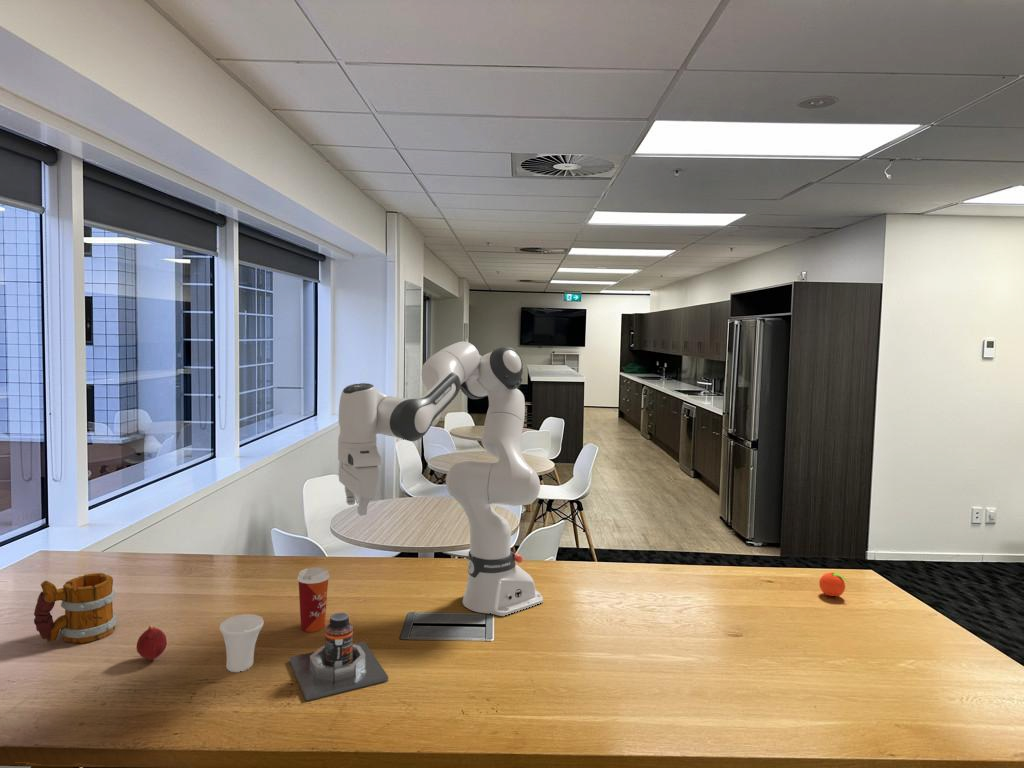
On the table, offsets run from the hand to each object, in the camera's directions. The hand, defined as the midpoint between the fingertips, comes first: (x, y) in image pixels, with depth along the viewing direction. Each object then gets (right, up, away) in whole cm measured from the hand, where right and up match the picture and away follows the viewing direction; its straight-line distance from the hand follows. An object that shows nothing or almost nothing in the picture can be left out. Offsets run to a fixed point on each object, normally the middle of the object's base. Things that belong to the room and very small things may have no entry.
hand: (356, 509), depth 156 cm
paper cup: (-12, -31, +6) cm, 33 cm away
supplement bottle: (-1, -32, -14) cm, 35 cm away
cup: (-22, -32, -13) cm, 41 cm away
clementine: (+133, -33, +37) cm, 142 cm away
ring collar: (-1, -33, -14) cm, 35 cm away
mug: (-64, -29, -4) cm, 71 cm away
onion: (-42, -31, -12) cm, 54 cm away
